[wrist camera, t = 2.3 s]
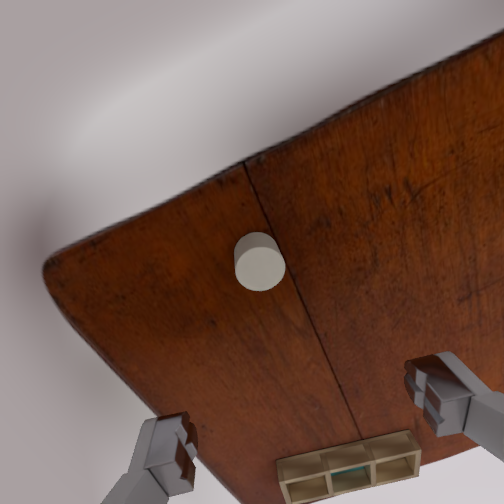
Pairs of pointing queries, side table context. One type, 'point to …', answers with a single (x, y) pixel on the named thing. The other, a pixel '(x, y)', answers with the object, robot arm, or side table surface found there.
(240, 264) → the cylinder
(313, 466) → the grid
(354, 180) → the side table surface
